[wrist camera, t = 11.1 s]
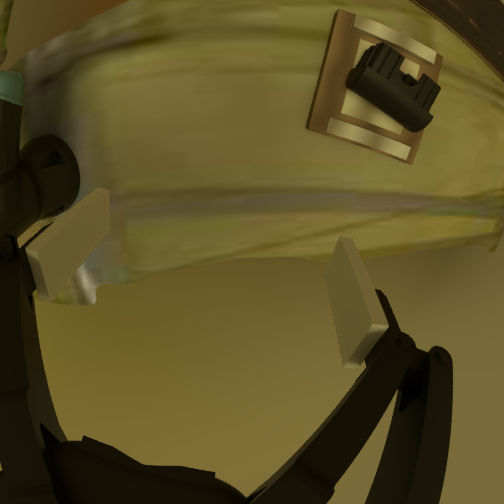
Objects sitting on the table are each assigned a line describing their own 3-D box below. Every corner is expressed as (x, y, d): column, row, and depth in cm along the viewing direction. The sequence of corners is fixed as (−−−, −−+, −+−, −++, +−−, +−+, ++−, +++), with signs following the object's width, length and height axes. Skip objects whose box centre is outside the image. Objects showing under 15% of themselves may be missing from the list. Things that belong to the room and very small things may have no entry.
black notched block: (339, 87, 31) (353, 87, 25) (363, 45, 27) (381, 38, 21) (399, 128, 32) (422, 137, 27) (422, 89, 29) (448, 92, 23)
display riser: (305, 127, 36) (309, 131, 33) (335, 13, 27) (341, 5, 23) (405, 160, 37) (416, 168, 34) (434, 57, 28) (448, 56, 24)
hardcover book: (503, 84, 27) (511, 85, 25) (402, -2, 24) (409, -5, 22) (518, 27, 19) (525, 27, 17) (424, -56, 16) (430, -60, 14)
